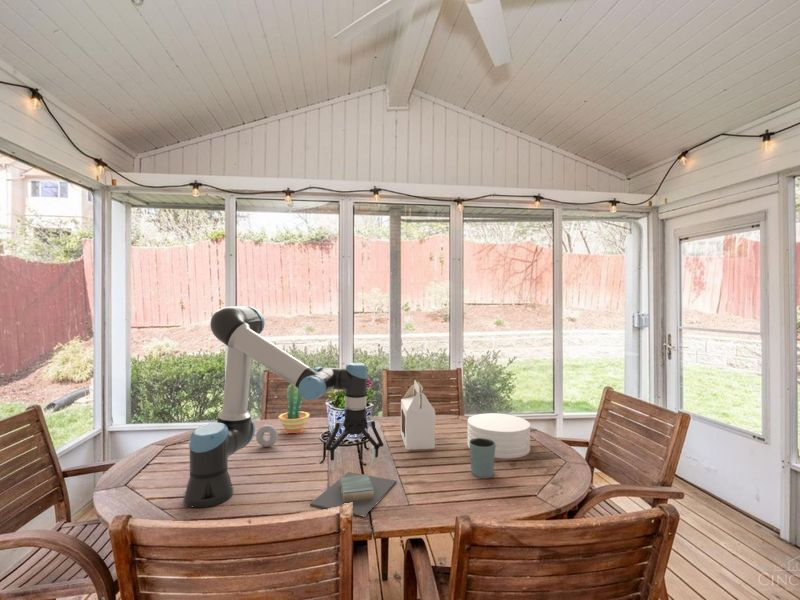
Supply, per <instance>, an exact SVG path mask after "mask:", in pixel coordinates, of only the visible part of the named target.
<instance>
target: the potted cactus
mask: <svg viewBox="0 0 800 600" xmlns="http://www.w3.org/2000/svg"><path fill="white" fill-rule="evenodd" d="M286 398H287V399H286V400H287V412H284V413H281V414H280V415H278V420H279V421H280V423H281V425H282V427H283V428H284V432H285V431H286V432H287V433H286V432H285V433H286V434H288V433H297V434H299V433H298V432H300V433H302V432H303V431H304V427H305V426H306V424H307V422H308V420H309V418H310V413H309V412H306V411H301V406H302V403H303V400H304V398H303V397H302V396H301V394H300V392H299V389H298V388H297V387H295V386H294V385H292V384H291V383H289V385H288V386H287V388H286ZM302 430H303V431H302ZM301 431H302V432H301Z"/></svg>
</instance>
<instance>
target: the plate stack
mask: <svg viewBox="0 0 800 600" xmlns="http://www.w3.org/2000/svg"><path fill="white" fill-rule="evenodd" d="M475 438H484V439H490V440H492V441H494V442H495V443H496V445H495V455H494V459H496V458H497V459H515V458H516V459H517V458H522V457H524V456H527V455H528V454H530V452H531V423H530V422H529V421H528V420H527V419H525V418H523V417H518V416H515V415H513V414H506V413H505V414H504V413H492V412H491V413H478V414H475V415H472V416H470V417H468V418H467V447H468V448H469V449H470V445H469V441H470V440H472V439H475Z"/></svg>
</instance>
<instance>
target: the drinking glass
mask: <svg viewBox="0 0 800 600" xmlns="http://www.w3.org/2000/svg"><path fill="white" fill-rule="evenodd" d="M469 445H470V448H469V455H470V472H471V474H472V475H473V476H475V477H477V478H480V479H481V478H482V479H486V478H487V479H489V478H491V477H493V476H494V473H495V458H494V455H495V445H496V443H495V442H494V441H492V440H490V439H484V438H475V439H472V440H470V441H469Z"/></svg>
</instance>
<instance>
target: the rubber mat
mask: <svg viewBox="0 0 800 600" xmlns="http://www.w3.org/2000/svg"><path fill="white" fill-rule="evenodd" d="M357 475H364V474H362V473H357V472H350V471H347V473H345V474H344V475H343V476H342V477H347V476H357ZM368 476H369V479H370V482H371V484H372V487H373V489H374V495H373V499H364V500H356V501H347V502H343V497H342V492H341V488H340V478H339V479H338V480H337V481H336V482H334V483H333V484H332V485H331V486H329V487H328V488H327V489H326V490H325V491H324V492H322V493H321V494H320V495H319V496H317V497H316V498H315V499H314V500H312V501H311V502H310V503H309V506H311V507H315V508H319V509H320V508H321V509H325V510H327V509H326V508H331V507H337V506H340V505H342V504H344V503H350V502H353V515H352V516H355V515H356V514H358V515H364V516H365V515H366V514H367V513H368V512H369V511H370V510H371V509H372V508H373V506H374V505H375V504H376V503H377V502H378V501H379V500H380V499H381V498H382V497H383V496H384V495H385V494H388V493H389V491H390V490H391V489H392V488H393V487H394V486H395V484H396V483H397V480H395V479H389V478H385V477H379V476H372V475H368ZM393 485H394V486H393ZM392 486H393V487H392ZM391 487H392V488H391ZM390 488H391V489H390ZM385 496H386V495H385ZM385 496H384V497H385ZM384 497H383V498H384ZM383 498H382V499H383ZM382 499H381V500H382ZM381 500H380V501H381ZM380 501H379V502H380ZM363 508H364V509H363ZM373 509H374V508H373ZM373 509H372V510H373ZM372 510H371V511H372ZM362 511H363V512H362Z"/></svg>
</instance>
